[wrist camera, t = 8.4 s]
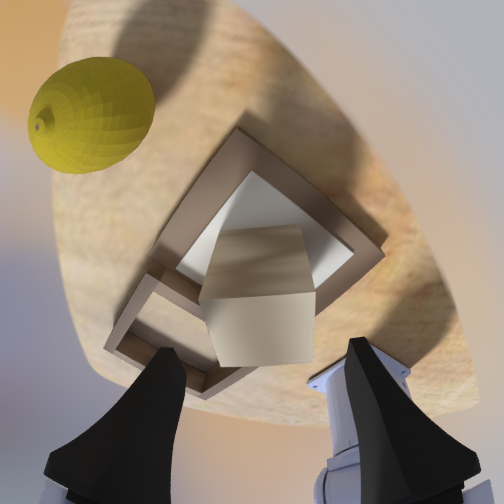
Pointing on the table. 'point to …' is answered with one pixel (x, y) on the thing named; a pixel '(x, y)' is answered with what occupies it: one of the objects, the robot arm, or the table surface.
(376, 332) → the table surface
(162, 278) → the brown divided tray
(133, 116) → the lemon
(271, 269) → the block
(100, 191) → the table surface
